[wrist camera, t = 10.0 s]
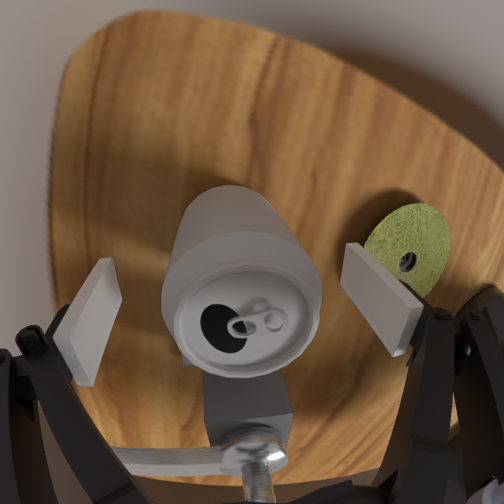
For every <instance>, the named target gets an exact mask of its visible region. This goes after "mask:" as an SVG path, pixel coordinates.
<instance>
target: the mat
mask: <svg viewBox="0 0 504 504" xmlns="http://www.w3.org/2000/svg"><path fill="white" fill-rule="evenodd" d="M364 249H365V250H366V251H367V252H368V253H370V254H371V255H372V256H373V257H374V258H375V259H376V260H377V261H378V262H379V263H380V264H382V265H383V266H384V267H385V268H386V269H387V270H388V271H389V272H390V273H391V274H392V275H393V276H394V277H395V278H396V279H397V280H399V279H400V280H402V281H403V282H405V283H407V284H408V285H409V286H411V287H412V288H413V290H415V291H416V292H417V293H418V295H420V296H421V297H422V298H424V297H425V296H426V295H428V293H429V292H430V291H431V290H432V288H434V286H435V284H436V283H437V281H438V279H439V278H440V276H441V275H442V272H443V271H444V267H445V266H446V262H447V260H448V256H449V252H450V231H449V228H448V224H447V223H446V220H445V218H444V216H443V215H442V214H441V213H440V212H439V211H438V209H436V208H434V207H432V206H431V205H428V204H423V203H415V204H411V205H406V206H403V207H401V208H399V209H396V210H395V211H394V212H392V214H389V215H388V216H387V217H385V218H384V220H382V221H381V222H380V223H379V224H378V226H377V227H376V228H375V229H374V230H373V232H372V233H371V235H370V236H369V237H368V240H367V241H366V243H365V245H364Z"/></svg>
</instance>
